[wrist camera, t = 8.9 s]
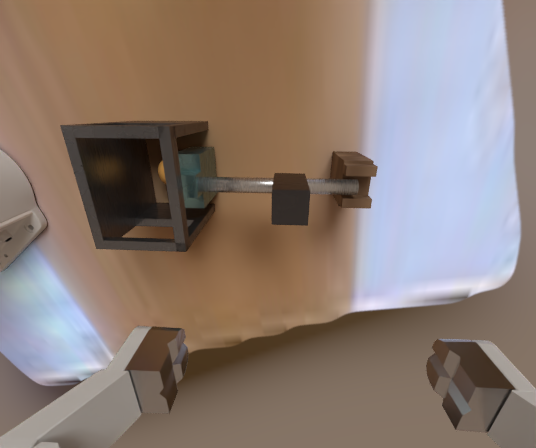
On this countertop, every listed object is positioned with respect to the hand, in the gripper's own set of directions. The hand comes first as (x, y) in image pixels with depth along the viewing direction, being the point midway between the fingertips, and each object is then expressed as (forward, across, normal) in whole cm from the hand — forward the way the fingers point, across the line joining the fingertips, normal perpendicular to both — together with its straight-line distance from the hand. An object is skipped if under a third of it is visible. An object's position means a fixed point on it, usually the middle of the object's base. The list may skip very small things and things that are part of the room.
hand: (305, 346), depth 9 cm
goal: (+28, +15, 0) cm, 32 cm away
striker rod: (+28, +3, 0) cm, 28 cm away
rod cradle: (+28, -7, 0) cm, 29 cm away
